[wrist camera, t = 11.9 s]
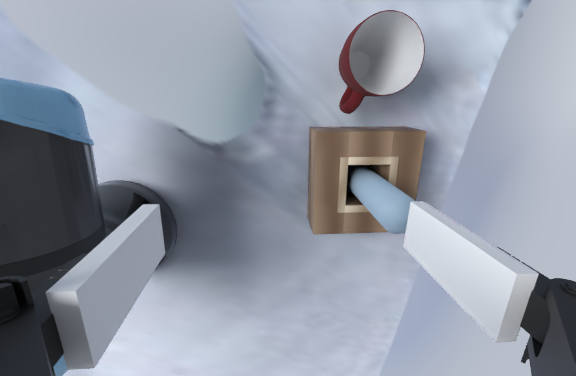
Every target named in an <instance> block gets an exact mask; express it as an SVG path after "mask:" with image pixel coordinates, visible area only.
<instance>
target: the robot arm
mask: <svg viewBox="0 0 576 376" xmlns="http://www.w3.org/2000/svg"><path fill="white" fill-rule="evenodd" d="M92 145H94V143H93V140H92V139H90V136H89V132H88V128H87V124H86V120H85V115H84V111H83V108H82V106H81V104H80V103H79V101H78V100H77V99H76V98H75V97H74V96H72V95H71V94H69V93H67V92H65V91H63V90H60V89H57V88H52V87H48V86H43V85H38V84H33V83H27V82H22V81H16V80H10V79H4V78H0V376H62V375H63V374H64V373H66V372H67V371H68V370H71V369H87V368H95V366H96V365H97V363H98V362H99V360H100V358H101V357H102V355H103V353H104V352H105V350H106V349H107V347H108V345H109V344H110V342H111V340H112V339H113V337H114V336H115V334H116V332H117V331H118V329H119V327H120V326H121V324H122V323H123V321H124V319H125V318H126V316H127V314H128V313H129V311H130V310H131V308H132V306H133V305H134V303H135V301H136V300H137V298H138V297H139V295H140V293H141V292H142V290H143V288H144V287H145V285H146V284H147V282H148V280H149V279H150V277H151V275H152V274H153V272H154V271H155V269H157V268H158V267H159V266H160V265H161V264H162V263H163V262H164V261H165V260H166V258H167V257H168V255H169V254H170V252H171V251H172V249H173V247H174V244H175V241H176V235H177V228H176V222H175V219H174V216H173V214H172V212H171V210H170V208H169V207H168V205H167V204H166V203H165V202H164V201H163V200H162V199H161V198H160V197H159V196H158V195H157V194H156V193H154V192H153V191H151V190H150V189H148V188H146V187H144V186H142V185H139V184H136V183H133V182H128V181H108V182H104V183H100V184H98V181H97V175H96V169H95V162H94V156H93V150H92ZM403 247H404V248H405V249H406V250H407V251H408V252H409V253H410V254H411V255H412V256H413V257H414V258H415V260H416V261H417V262H418V263H419V264H420V265H421V266H422V267H423V268H424V269H425V270H426V271H427V272H428V273H429V274H430V275H431V276H432V277H433V278H434V279H435V280H436V281H437V282H438V283H439V284H440V285H441V286H442V287H443V289H444V290H445V291H446V292H448V294H449V295H450V296H451V297H452V298H453V299H454V300H455V301H456V302H457V303H458V304H459V305H460V306H461V307H462V308H463V309H464V310H465V311H466V312H467V313H468V314H469V316H470V317H471V318H472V319H473V320H474V321H475V322H476V323H477V324H478V325H479V326H480V327H481V328H482V329H483V330H484V331H485V332H486V333H487V334H488V335H489V336H490V337H491V338H492V339H493V340H494V341H495V342H512V341H516V339H517V336H518V333H519V330H520V327H522V328H523V329H525V330H526V331H527V332H528V333H529V334H530V337H529V340H528V343H527V345H526V349H525V351H524V354H523V357H522V360H521V362H523V363H525V362H526V360H527V359H529V360H530V367H531V373H532V376H576V282H574V281H571V280H566V279H561V278H554V279H551V280H550V279H549V278H547V277H546V276H544V275H542V274H541V273H539V272H538V271H536V270H534V269H533V268H531V267H530V266H528V265H526V264H525V263H523V262H520V260H518V259H517V258H515V257H513V256H511V255H510V254H509V253H507V252H505V251H504V250H502V249H501V248H499V247H496V246H494V245H493V244H491V243H489V242H488V241H486V240H485V239H483V238H482V237H480V236H478V235H477V234H475V233H474V232H472V231H470V230H469V229H467V228H466V227H464V226H463V225H461V224H459V223H458V222H456V221H454V220H453V219H451V218H450V217H448V216H446V215H445V214H443V213H442V212H440V211H439V210H437V209H435V208H434V207H432V206H431V205H429V204H427V203H426V202H424V201H413V202H411V203H410V209H409V215H408V221H407V227H406V233H405V239H404V245H403Z"/></svg>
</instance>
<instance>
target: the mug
mask: <svg viewBox="0 0 576 376" xmlns="http://www.w3.org/2000/svg"><path fill="white" fill-rule="evenodd" d="M424 52H425V46H424V39H423V35H422V32H421V30H420V28H419V26H418V25H417V24H416V22H415V21H414V20H413V19H412V18H411V17H409V16H408V15H406V14H404V13H402V12H399V11H394V10H387V11H381V12H378V13H375V14H373V15H371V16H370V17H368V18H367V19H365V20H364V21H363V22H361V23H360V24H359V25H358V26H357V27H356V28H355V29H354V30H353V31H352V32H351V34H350V35H349V37H348V38H347V40H346V42H345V44H344V47H343V49H342V52H341V54H340V58H339V71H340V74H341V77H342V79H343V80H344V82H345V83H346V85H347V86H348V87H347V89H346V91H345V93H344V94H343V96H342V98H341V101H340V105H339V107H340V110H341V111H342V112H344V113H347V114H350V113H352V112H353V111H355V110H356V109H357V107H358V106H359V105H360V103H361V102H362V100H363V98H364V97H365V96H387V95H392V94H395V93H397V92H399V91H401V90H403V89H404V88H406V87H407V86H408V85H409V84H410V83H411V82H412V81H413V80H414V79H415V77H416V76H417V74H418V72H419V70H420V68H421V66H422V63H423V59H424Z"/></svg>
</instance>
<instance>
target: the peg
mask: <svg viewBox="0 0 576 376" xmlns="http://www.w3.org/2000/svg"><path fill="white" fill-rule="evenodd" d="M347 187H348V188H349V189H350V190H351V191H352V193H353V194H354V195H355V196H356V197H357V198H358V199H359V200H360V202H361V203H362V204H363V205H364V206H365V207H366V208H367V209H368V211H369V212H370V213H371V214H372V215H373V216H374V217H375V218H376V220H377V221H378V222H379V223H380V224H381V225H382V226H383V227H384V229H386V230H387V231H388V232H390V233H395V234H400V233H404V232H406V227H407V221H408V215H409V209H410V203H411V202H413V201H415V200H414V199H412V198H411V197H409V196H408V195H407V194H405V193H404V192H402V191H401V190H399V189H398V188H396V187H395V186H394V185H392V184H391V183H389V182H388V181H386V180H385V179H384V178H382V177H381V176H379V175H378V174H376V173H375V172H373V171H372V170H371V169H369V168H368V167H366V166H365V165H348V173H347Z"/></svg>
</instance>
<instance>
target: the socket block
mask: <svg viewBox="0 0 576 376" xmlns="http://www.w3.org/2000/svg"><path fill="white" fill-rule="evenodd" d="M425 135H426V131H423V130H418V129H414V128H409V127H310V134H309V176H308V220H309V223H310V226H311V229H312V232H313V234H339V233H373V232H388V231H387V230H386V229H384V227H383V226H382V225H381V224H380V223H379V222H378V221H377V220H376V218H375V217H374V216H373V215H372V214H371V213H370V212H369V211H368V209H367V208H366V207H365V206H364V205H363V204H362V203H361V202H360V200H359V199H358V198H357V197H356V196H355V195H354V194H353V193H352V191H346V188H347V173H348V165H373V168H372V171H373V172H375V173H376V174H378V175H379V176H381V177H382V178H384V179H385V180H386V181H388V182H389V183H391V184H392V185H394V186H395V187H396V188H398V189H399V190H401V191H402V192H404V193H405V194H407V195H408V196H409V197H411V198H412V199H414V200H415V201H416V196H417V189H418V183H419V176H420V169H421V162H422V156H423V149H424V142H425Z"/></svg>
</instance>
